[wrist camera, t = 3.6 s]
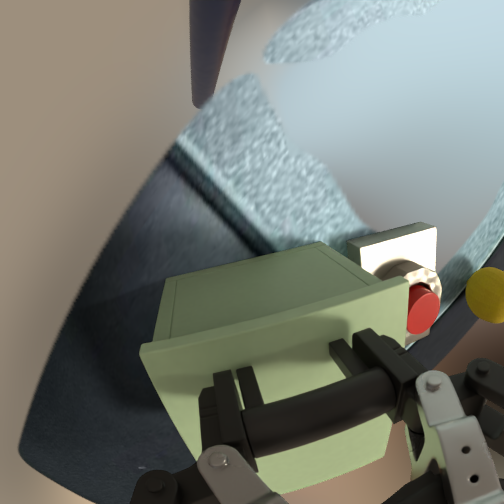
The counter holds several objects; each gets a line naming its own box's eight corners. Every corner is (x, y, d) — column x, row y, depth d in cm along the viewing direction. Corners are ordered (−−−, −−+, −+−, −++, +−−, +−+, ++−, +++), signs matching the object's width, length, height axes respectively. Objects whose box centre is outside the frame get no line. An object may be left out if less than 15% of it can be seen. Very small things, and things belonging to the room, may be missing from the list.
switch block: (345, 240, 23) (372, 254, 19) (420, 221, 24) (450, 231, 20) (351, 351, 26) (371, 376, 22) (416, 324, 27) (440, 343, 23)
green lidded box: (165, 278, 21) (148, 359, 12) (321, 241, 22) (398, 291, 13) (212, 410, 25) (225, 497, 16) (332, 377, 27) (379, 449, 17)
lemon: (446, 284, 27) (500, 315, 19) (474, 248, 26) (528, 271, 19) (459, 313, 28) (505, 344, 21) (484, 279, 28) (531, 303, 20)
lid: (140, 343, 11) (120, 434, 7) (399, 274, 13) (475, 321, 8) (225, 497, 16) (236, 553, 11) (379, 449, 17) (409, 495, 12)
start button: (394, 292, 21) (408, 301, 19) (428, 279, 21) (442, 286, 20) (393, 330, 22) (405, 341, 20) (425, 316, 22) (437, 325, 21)
